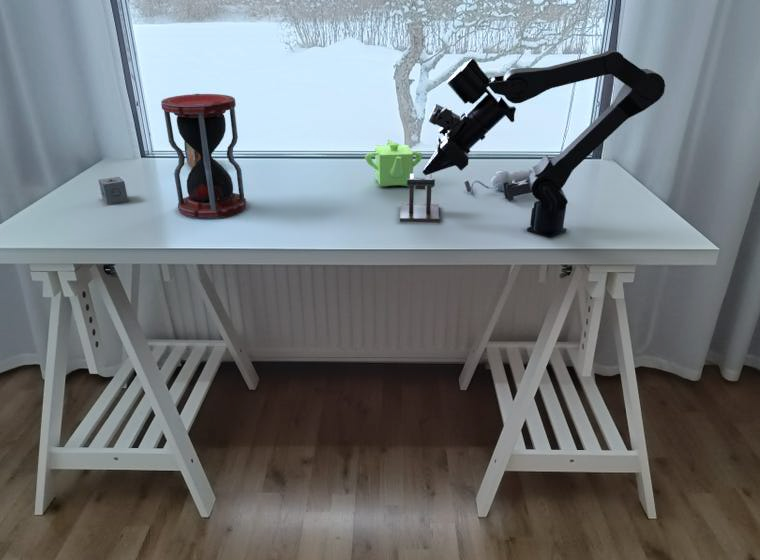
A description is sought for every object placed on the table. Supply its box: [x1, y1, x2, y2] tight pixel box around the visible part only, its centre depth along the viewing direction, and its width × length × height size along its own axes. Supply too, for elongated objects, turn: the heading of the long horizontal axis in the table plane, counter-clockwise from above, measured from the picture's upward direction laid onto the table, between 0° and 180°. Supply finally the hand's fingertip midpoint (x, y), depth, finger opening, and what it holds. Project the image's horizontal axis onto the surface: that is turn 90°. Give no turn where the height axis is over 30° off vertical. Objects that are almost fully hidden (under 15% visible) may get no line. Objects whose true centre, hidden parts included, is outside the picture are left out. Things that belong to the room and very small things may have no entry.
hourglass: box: [160, 93, 247, 219], centre depth 153 cm, size 16×16×25 cm
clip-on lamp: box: [464, 168, 533, 202], centre depth 169 cm, size 12×6×18 cm
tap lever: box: [406, 177, 436, 191], centre depth 147 cm, size 11×6×2 cm, turn 177°
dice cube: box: [98, 176, 129, 206], centre depth 164 cm, size 5×5×5 cm
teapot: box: [364, 139, 423, 188], centre depth 175 cm, size 15×13×11 cm
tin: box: [183, 140, 200, 169], centre depth 191 cm, size 15×3×8 cm, turn 25°
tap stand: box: [399, 173, 440, 223], centre depth 153 cm, size 11×9×9 cm
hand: (423, 173), depth 141 cm, fingers closed
